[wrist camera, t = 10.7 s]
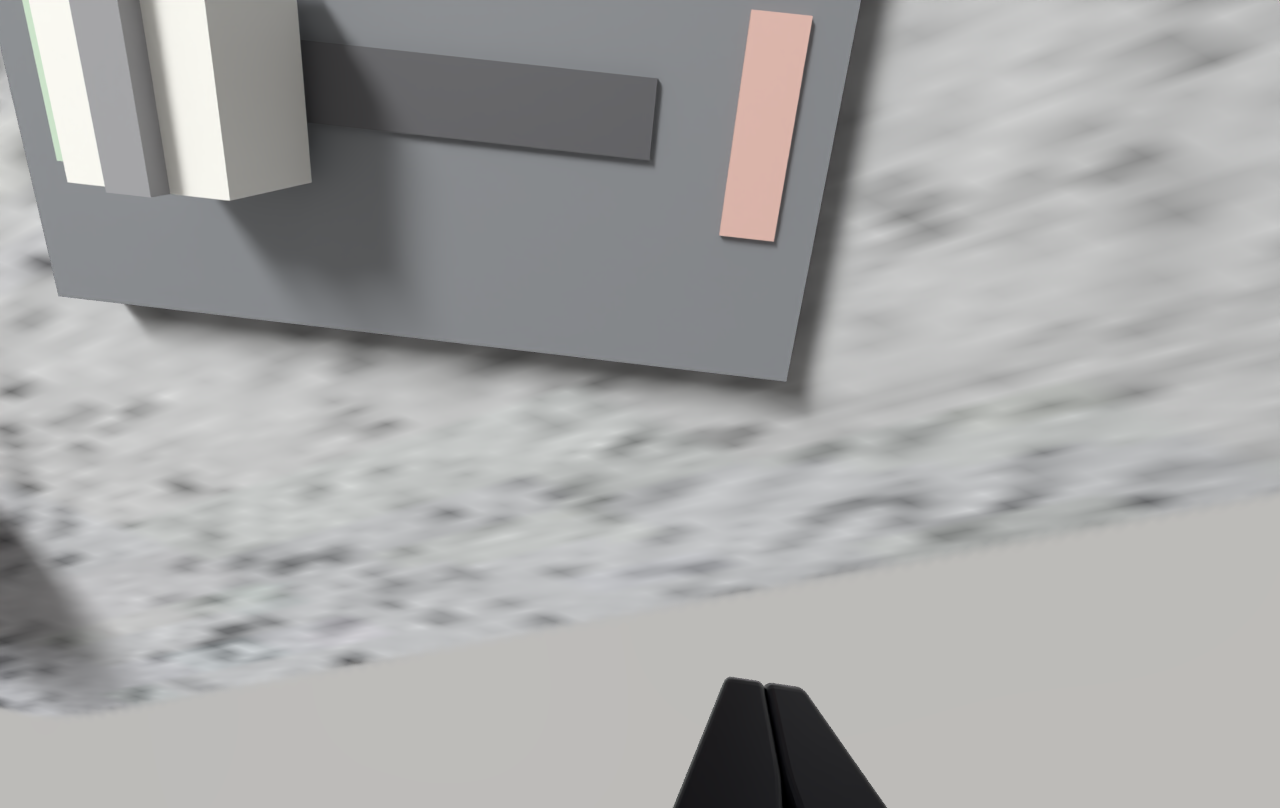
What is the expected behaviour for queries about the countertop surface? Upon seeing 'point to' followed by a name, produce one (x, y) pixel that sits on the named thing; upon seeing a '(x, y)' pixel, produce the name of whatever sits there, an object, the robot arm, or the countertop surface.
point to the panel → (501, 181)
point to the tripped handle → (176, 94)
